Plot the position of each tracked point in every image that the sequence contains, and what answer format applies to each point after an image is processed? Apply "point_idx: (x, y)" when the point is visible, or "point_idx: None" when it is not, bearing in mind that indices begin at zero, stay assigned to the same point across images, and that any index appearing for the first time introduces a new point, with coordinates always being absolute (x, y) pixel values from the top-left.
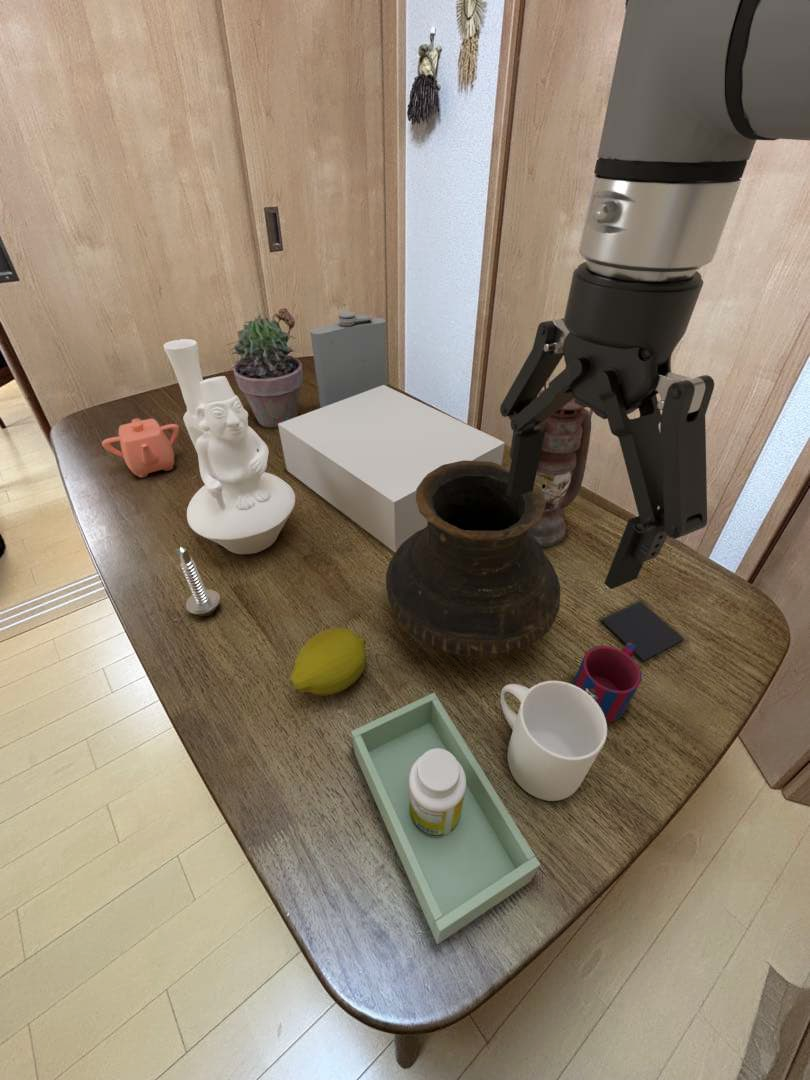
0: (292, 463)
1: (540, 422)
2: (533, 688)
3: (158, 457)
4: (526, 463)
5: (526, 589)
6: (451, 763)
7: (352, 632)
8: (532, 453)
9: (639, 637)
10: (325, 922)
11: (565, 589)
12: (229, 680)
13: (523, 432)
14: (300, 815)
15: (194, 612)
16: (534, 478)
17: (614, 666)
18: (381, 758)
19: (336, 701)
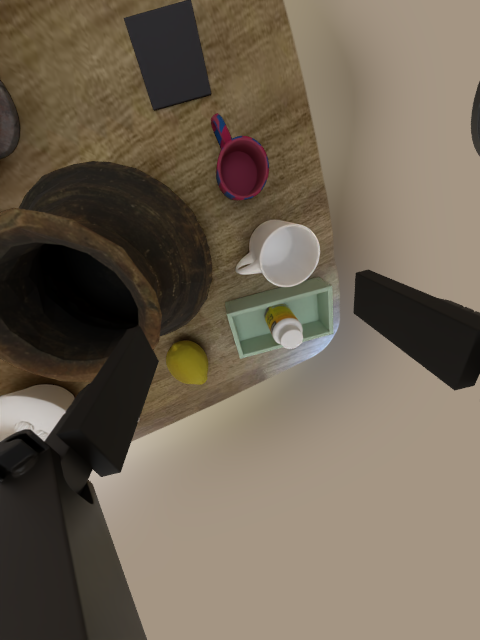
0: None
1: (59, 470)
2: (262, 269)
3: None
4: (130, 390)
5: (170, 242)
6: (292, 333)
7: (174, 358)
8: (118, 399)
9: (182, 73)
10: (298, 356)
11: (102, 128)
12: (183, 395)
13: (90, 468)
14: (258, 364)
15: (138, 420)
16: (132, 341)
17: (227, 151)
18: (244, 333)
19: (205, 350)
